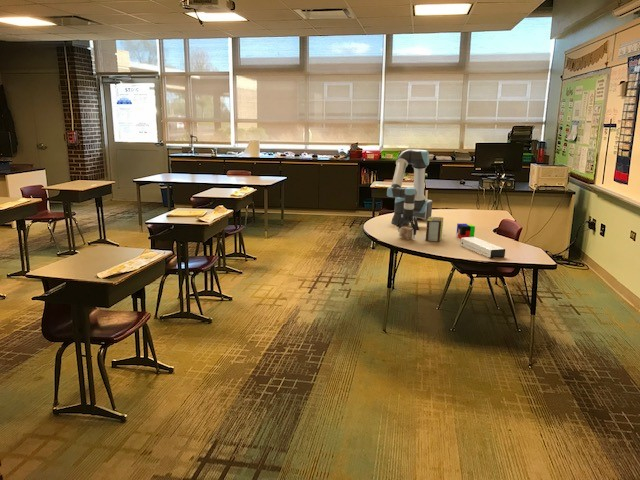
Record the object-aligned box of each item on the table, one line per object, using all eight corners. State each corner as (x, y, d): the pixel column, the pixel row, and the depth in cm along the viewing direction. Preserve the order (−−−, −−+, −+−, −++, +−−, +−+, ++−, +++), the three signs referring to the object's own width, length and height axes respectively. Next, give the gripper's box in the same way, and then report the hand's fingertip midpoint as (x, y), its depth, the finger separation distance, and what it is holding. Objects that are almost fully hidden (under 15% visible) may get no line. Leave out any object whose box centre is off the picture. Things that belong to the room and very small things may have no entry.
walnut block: (401, 238, 371) (401, 228, 369) (405, 237, 375) (406, 227, 373) (407, 240, 367) (408, 229, 365) (412, 238, 371) (413, 228, 369)
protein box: (441, 237, 378) (443, 217, 374) (439, 242, 364) (441, 221, 360) (427, 236, 381) (429, 216, 378) (425, 240, 367) (426, 220, 363)
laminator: (504, 258, 328) (505, 249, 327) (488, 259, 325) (489, 250, 323) (473, 245, 360) (474, 236, 358) (458, 246, 356) (459, 237, 354)
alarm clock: (432, 218, 446) (434, 198, 442) (427, 221, 435) (428, 200, 431) (413, 216, 456) (414, 196, 451) (407, 218, 445) (409, 198, 440)
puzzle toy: (456, 236, 384) (457, 223, 381) (468, 236, 384) (470, 223, 382) (460, 239, 374) (462, 226, 371) (473, 239, 375) (475, 226, 372)
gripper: (392, 206, 371) (390, 235, 376) (419, 211, 355) (417, 241, 361) (398, 205, 376) (396, 234, 381) (425, 210, 361) (422, 239, 366)
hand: (406, 237), depth 371 cm, fingers open, 11 cm apart
